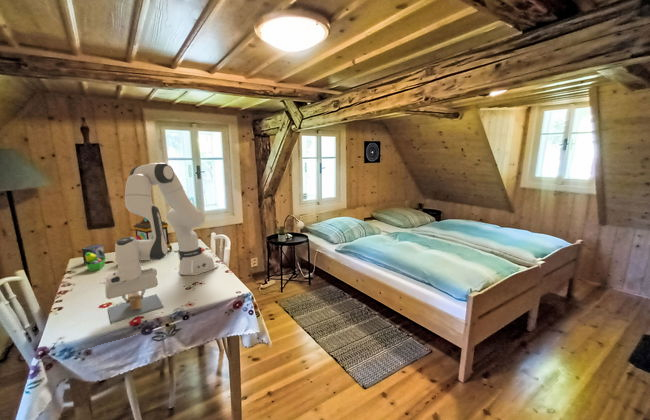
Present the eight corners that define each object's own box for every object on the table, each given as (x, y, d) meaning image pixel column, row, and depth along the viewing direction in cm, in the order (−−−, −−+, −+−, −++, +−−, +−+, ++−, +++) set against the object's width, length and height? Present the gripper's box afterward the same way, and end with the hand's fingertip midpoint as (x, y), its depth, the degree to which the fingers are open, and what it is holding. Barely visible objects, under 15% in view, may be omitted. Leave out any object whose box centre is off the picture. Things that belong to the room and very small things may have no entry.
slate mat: (156, 295, 147) (156, 294, 147) (163, 307, 135) (163, 306, 135) (108, 308, 135) (108, 307, 135) (111, 323, 123) (111, 322, 123)
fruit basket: (101, 270, 182) (98, 253, 180) (84, 272, 179) (81, 255, 177) (107, 264, 192) (104, 248, 190) (91, 266, 189) (88, 250, 187)
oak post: (130, 301, 128) (127, 292, 137) (131, 310, 128) (128, 300, 137) (141, 299, 130) (137, 290, 139) (142, 307, 131) (138, 297, 140)
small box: (91, 264, 193) (88, 249, 192) (83, 263, 195) (80, 248, 193) (106, 258, 204) (103, 244, 202) (98, 258, 205) (96, 244, 203)
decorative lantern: (147, 258, 202) (141, 216, 197) (133, 253, 213) (127, 213, 207) (175, 250, 219) (170, 211, 214) (160, 246, 229) (155, 209, 224)
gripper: (154, 265, 141) (158, 291, 143) (102, 277, 128) (107, 305, 131) (157, 268, 136) (161, 296, 139) (103, 281, 123) (108, 311, 126)
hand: (134, 300), depth 134 cm, fingers closed on oak post, 4 cm apart
